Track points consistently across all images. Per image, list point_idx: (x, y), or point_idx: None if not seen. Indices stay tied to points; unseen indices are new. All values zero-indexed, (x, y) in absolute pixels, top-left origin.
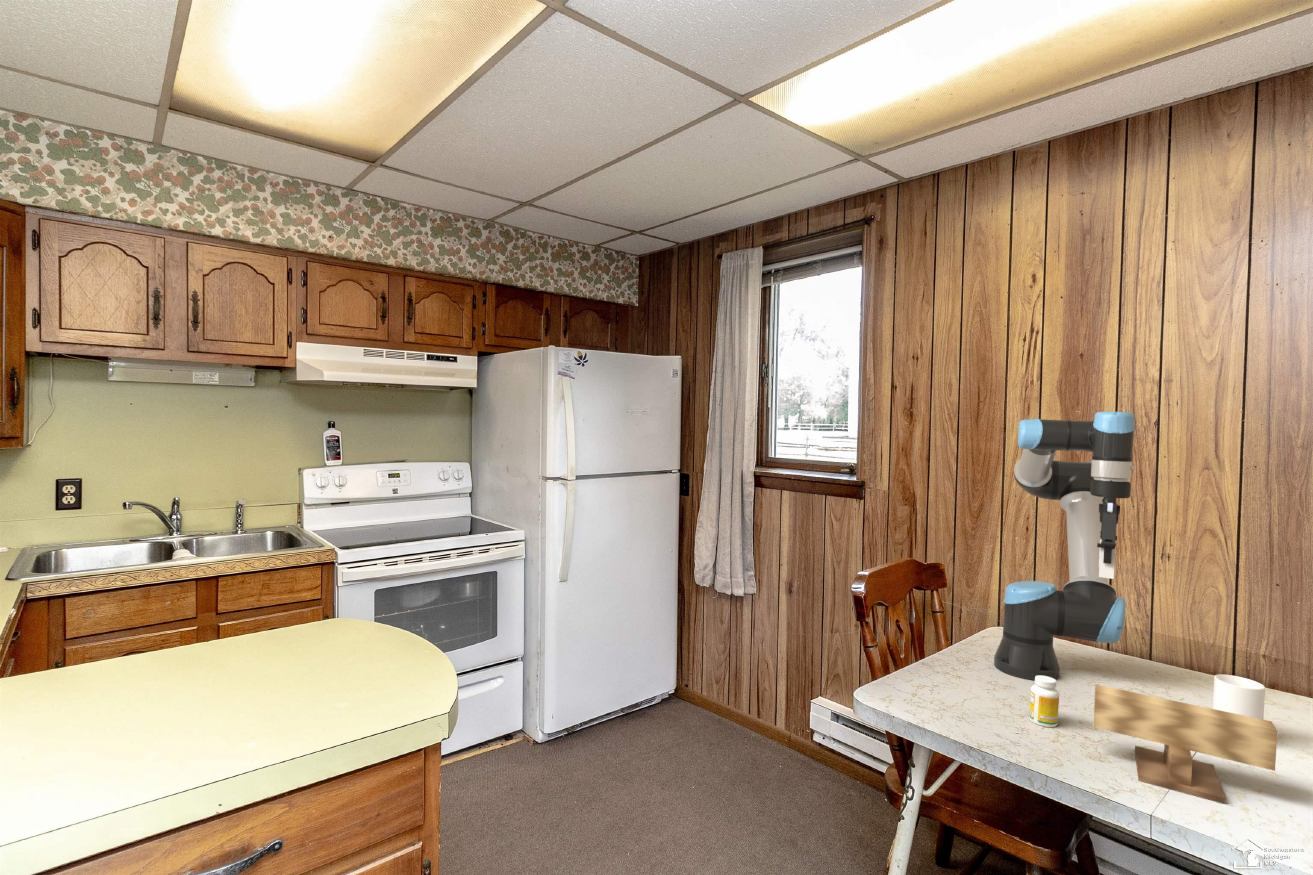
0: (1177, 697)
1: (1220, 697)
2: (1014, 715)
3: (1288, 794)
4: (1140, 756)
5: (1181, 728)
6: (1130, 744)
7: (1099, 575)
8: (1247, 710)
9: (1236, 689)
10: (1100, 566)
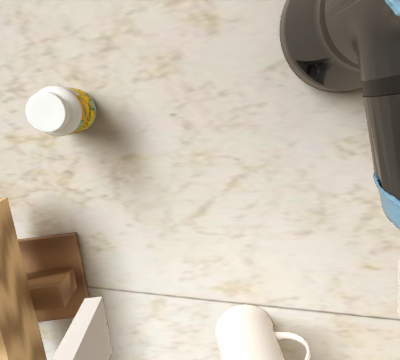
0: (374, 262)
1: (232, 353)
2: (66, 65)
3: None
4: (37, 244)
5: None
6: (95, 225)
7: (83, 304)
8: None
9: None
10: (67, 337)
